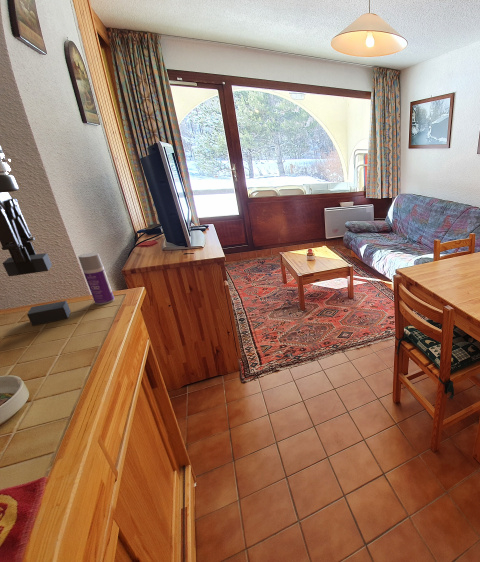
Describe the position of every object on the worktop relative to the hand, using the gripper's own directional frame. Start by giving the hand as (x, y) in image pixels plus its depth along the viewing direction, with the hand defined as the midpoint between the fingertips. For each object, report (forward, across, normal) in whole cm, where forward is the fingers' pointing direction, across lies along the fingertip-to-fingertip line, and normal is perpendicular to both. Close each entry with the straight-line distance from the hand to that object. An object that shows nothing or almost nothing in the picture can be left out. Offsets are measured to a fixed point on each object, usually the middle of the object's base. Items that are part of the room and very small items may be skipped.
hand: (30, 269), depth 79 cm
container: (+15, +6, -11) cm, 19 cm away
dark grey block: (0, 0, 0) cm, 0 cm away
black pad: (+15, +1, 0) cm, 15 cm away
